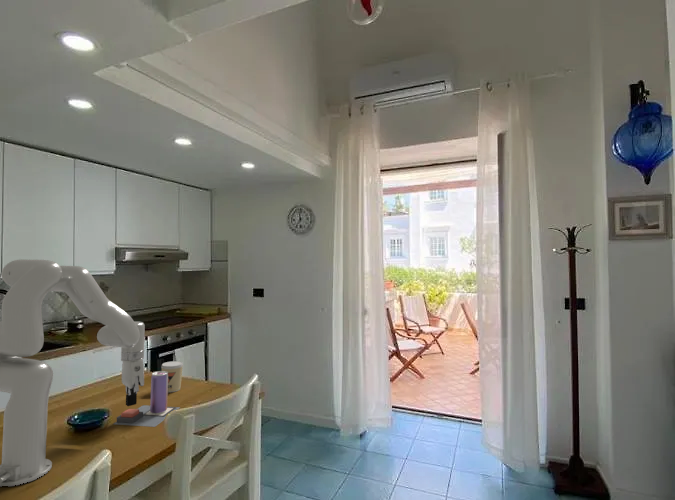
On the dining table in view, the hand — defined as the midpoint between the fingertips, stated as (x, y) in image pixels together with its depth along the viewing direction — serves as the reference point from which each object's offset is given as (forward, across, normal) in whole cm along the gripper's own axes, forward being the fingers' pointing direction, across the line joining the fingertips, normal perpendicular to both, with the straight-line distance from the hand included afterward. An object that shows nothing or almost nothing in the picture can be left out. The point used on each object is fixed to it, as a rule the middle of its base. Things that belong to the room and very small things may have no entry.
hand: (131, 404), depth 140 cm
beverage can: (+6, 0, -10) cm, 11 cm away
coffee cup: (+7, +24, -26) cm, 36 cm away
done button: (+5, 0, 0) cm, 5 cm away
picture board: (+6, -1, -6) cm, 9 cm away
